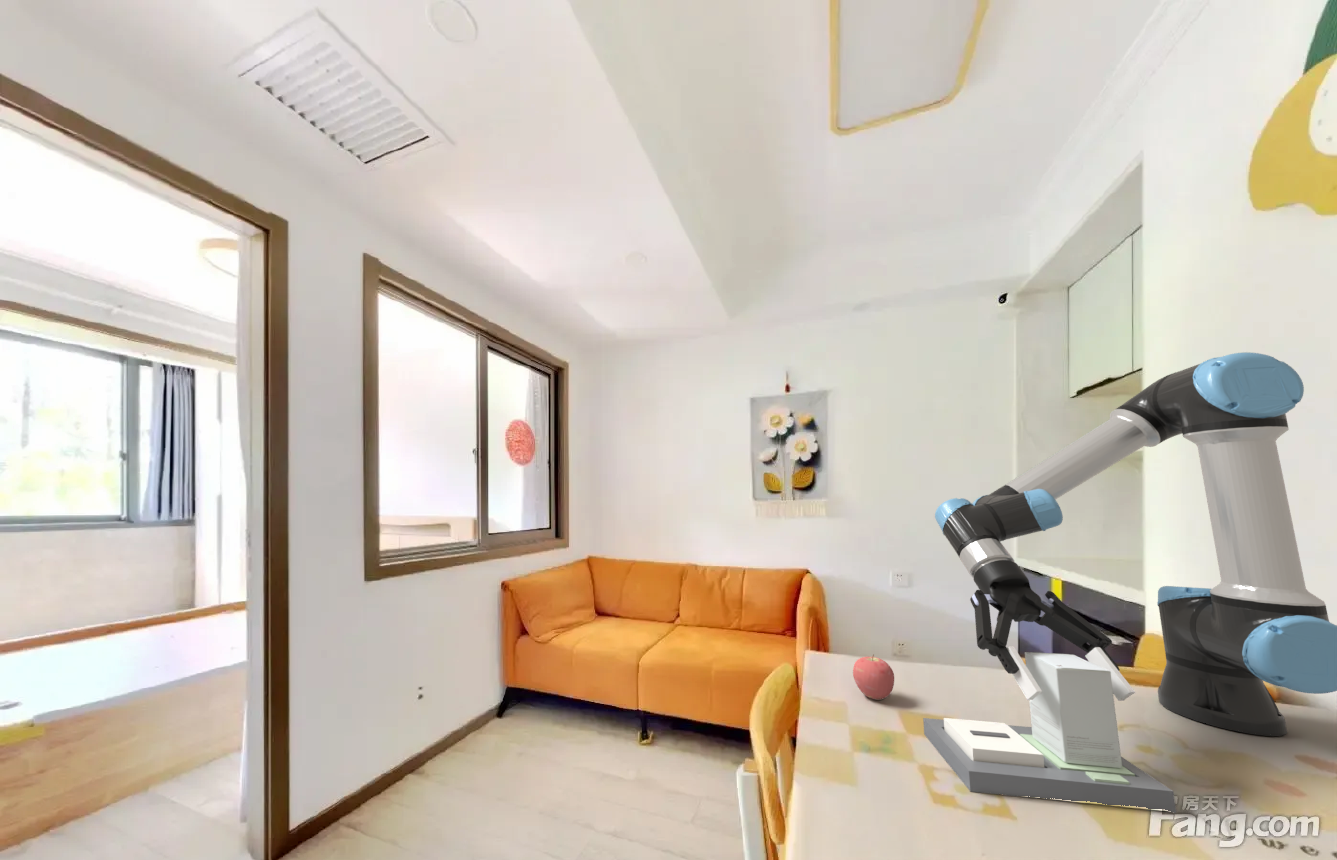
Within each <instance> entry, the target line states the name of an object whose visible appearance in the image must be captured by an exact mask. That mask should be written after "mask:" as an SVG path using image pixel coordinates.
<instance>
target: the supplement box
mask: <svg viewBox="0 0 1337 860" xmlns="http://www.w3.org/2000/svg"><path fill="white" fill-rule="evenodd" d="M1024 659H1025V661H1024V662H1025V665H1026V667H1027V668H1028V670H1029V671H1030V673H1031V675H1032V676H1033V678H1034V679H1035V681H1036V682H1037V684H1038V686H1039V687H1040V689H1041V690H1042V692H1041V693H1040V694H1039V695H1037V696H1036V697H1035V698H1034V699H1033V700H1028V701H1029V710H1030V723H1031V727H1032V736H1033V738H1034V739H1036V740H1037V741H1038V742H1040V743H1041V744H1042V745H1044V746H1045V747H1046V748H1047V749H1049V750H1050V751H1051V752H1053V753H1054V754H1055V755H1056V756H1058V757H1059V758H1060V759H1062V760H1063V761H1064V762H1066V763H1073V764H1082V765H1092V766H1102V767H1112V768H1122V761H1121V757H1122V753H1121V746H1120V744H1121V743H1120V739H1119V729H1118V723H1117V722H1118V721H1117V714H1116V706H1115V695H1114V694H1113V688H1112V680H1111V672H1110V671H1109V670H1107V669H1104V668H1102V667H1100V666H1097V665H1095V664H1093V663H1091V662H1089V661H1088V660H1086V659H1084V658H1082V657H1079V656H1078V655H1075V654H1069V653H1053V652H1049V653H1048V652H1034V651H1033V652H1029V651H1028V652H1027V651H1026V652H1024Z"/></svg>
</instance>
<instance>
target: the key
mask: <svg viewBox="0 0 1337 860" xmlns="http://www.w3.org/2000/svg"><path fill="white" fill-rule="evenodd" d="M1020 736H1021V737H1022V738H1024V739H1025V740H1026V741H1027V742H1028V743H1030V744H1031V745H1032V746H1033V747H1034V748H1036V749H1037V750H1038V751H1039V752H1040V753H1042V754H1043V756H1044V757H1045V758H1047V759H1048V760H1049V761H1050V762H1051V763H1053V764H1054V765H1055V766H1056V767H1057V768H1059V769H1062V770H1072V771H1083V772H1085V771H1086V772H1096V773H1107V774H1117V775H1124V776H1135V774H1134V773H1132V772H1131V771H1129V770H1128V769H1126V768H1125V767H1123V766H1122V768H1112V767H1102V766H1092V765H1082V764H1073V763H1066V762H1064V761H1063V760H1062V759H1060V758H1059V757H1058V756H1056V755H1055V754H1054V753H1053V752H1051V751H1050V750H1049V749H1047V748H1046V747H1045V746H1044V745H1042V744H1041V743H1040V742H1038V741H1037V740H1036V739H1034V738H1033V736H1032V735H1028V734H1020Z"/></svg>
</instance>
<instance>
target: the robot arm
mask: <svg viewBox="0 0 1337 860" xmlns="http://www.w3.org/2000/svg"><path fill="white" fill-rule="evenodd" d="M1303 383H1304V382H1303V379H1302V378H1301V376H1300V375H1299V374H1298V372H1297V371H1296V370H1295V369H1294V368H1293V367H1292V366H1290V365H1289V364H1288V363H1286V362H1285V361H1283V360H1282V361H1281V360H1278V359H1277V358H1275V357H1274V356H1271V355H1269V354H1264V353H1259V352H1248V351H1246V352H1244V351H1243V352H1235V353H1230V354H1226V355H1223V356H1218V357H1212V358H1210V359H1207V360H1205V361H1203V362H1201V363H1198V364H1196V365H1194V366H1193V365H1192V366H1190V367H1187V368H1183V369H1182V370H1179V371H1175V372H1172V373H1169V374H1167V375H1165V376H1163V377H1161V378H1160V379H1158V380H1156V381H1154V382H1153V383H1152V384H1150V385H1148V386H1147V387H1146V388H1144V389H1143V390H1141V391H1140V392H1139V393H1137V394H1135V395H1134V396H1133V397H1131V398H1129V399H1128V400H1127V401H1126V402H1124V403H1122V404H1121V405H1119V406H1118V407H1116V408H1115V409H1113V410H1111V412H1110V413H1109V419H1108V420H1106V421H1104V422H1102V423H1101V424H1100V425H1098V426H1096V427H1095V428H1093V429H1092V430H1090V431H1088V432H1087V433H1085V434H1083V435H1082V436H1080V437H1079V438H1077V439H1076V440H1074V441H1072V442H1071V443H1070V444H1067V445H1066V446H1064V447H1063V448H1062V449H1059V450H1058V451H1057V452H1055V453H1053V454H1052V455H1050V456H1049V457H1047V458H1045V459H1043V460H1042V461H1041V462H1039V463H1037V464H1035V465H1034V466H1033V467H1031V468H1030V469H1028V470H1026V471H1024V472H1023V473H1022V474H1020V475H1017V477H1015V478H1014V479H1012V480H1010V481H1008V482H1007V483H1005V484H1004V485H1003V486H1001V487H1000V488H997V489H996V490H994V491H993V492H991V493H990V494H985V495H982V496H980V497H977V498H976V499H975V500H974V501H973V502H971V501H970V500H969V499H966V498H961V497H960V498H957V497H955V498H950V499H947V500H945V501H943V502H942V503H941V504H940V505H939V506H937V508H936V510H935V514H934V518H935V521H936V523H937V524H938V526H939V528H940V530H941V532H942V534H943V536H945V538H946V539H947V541H948V542H949V544H950V545H951V547H952V549H953V550H954V552H955V553H956V554H957V556H958V558H959V559H960V561H961V562H962V565H963V566H964V567H965V569H966V570H967V572H968V573H969V576H970V577H972V578H973V581H974V583H975V586H977V588H978V589H976V590H975V591H974V593H973V594H972V596H971V597H970V599H969V601H970V603H971V605H972V607H973V609H974V618H975V619H974V620H975V632H976V646H977V648H979V649H980V650H982V651H983V650H987V651H988V654H989V655H991V656H992V657H997V658H998V660H999V662H1000V663H1001V665H1002V667H1003V668H1004V670H1005V672H1007V673H1008V674H1009V675H1010V674H1011V675H1012V676H1013V679H1014V680H1015V682H1016V684H1017V686H1018V687H1019V688H1020V690H1021V691H1022V693H1023V695H1024V697H1025V699H1026V700H1027V701H1029V700H1033V699H1034V698H1035V697H1036V696H1037V695H1039V694H1040V693H1041V692H1042V690H1041V689H1040V687H1039V686H1038V684H1037V682H1036V681H1035V679H1034V678H1033V676H1032V675H1031V673H1030V671H1029V670H1028V668H1027V667H1026V662H1025V661H1024V660H1023V659H1022V658H1021V655H1020V654H1019V653H1018V651H1017V649H1016V648H1015V646H1013V645H1012V646H1011V645H1010V646H1008V647H1007V645H1008V640H1009V637H1010V636H1009V634H1010V632H1011V631H1010V630H1011V626H1012V622H1013V621H1014V622H1015V623H1017V622H1018V623H1020V622H1028V623H1033V622H1034V623H1036V624H1038V625H1040V626H1045V627H1046V628H1048V629H1050V631H1051V630H1052V631H1053V632H1054V633H1055V634H1057V635H1059V636H1060V637H1062V638H1064V639H1065V640H1067V641H1068V642H1070V643H1072V644H1073V645H1074V646H1076V647H1078V648H1080V649H1081V650H1083V651H1084V652H1086V654H1085V656H1084V657H1085V659H1087V661H1089V662H1091V663H1093V664H1095V665H1097V666H1100V667H1102V668H1104V669H1107V670H1109V671H1110V672H1111V680H1112V688H1113V696H1114V698H1116V699H1117V701H1121V702H1122V701H1125V700H1127V699H1128V698H1130V697H1131V696H1132V695H1134V694H1136V691H1135V690H1134V688H1133V687H1132V686H1131V684H1130V683H1129V682H1128V680H1127V679H1126V678H1125V677H1124V675H1123V674H1122V673H1121V672H1120V668H1119V665H1118V664H1117V663H1116V662H1115V661H1114V660H1113V658H1112V657H1111V656H1110V654H1109V653H1108V651H1106V648H1108V647H1109V646H1111V644H1112V643H1113V641H1112V639H1111V638H1110V637H1109V636H1108V635H1106V634H1104V633H1103V632H1102V630H1099V629H1098V628H1096V627H1095V626H1094V625H1093V624H1092V623H1090V622H1089V621H1087V620H1086V619H1085V618H1084V617H1083V616H1081V615H1079V614H1078V613H1077V612H1076V611H1075V610H1073V609H1072V608H1071V607H1069V606H1068V605H1067V604H1066V603H1064V602H1063V601H1062V600H1061V599H1060V598H1059V597H1058V596H1057V595H1056V593H1055V592H1053V591H1051V590H1048V591H1046V592H1045V593H1044V594H1038V593H1036V592H1035V591H1034V590H1033V589H1032V587H1031V584H1030V580H1029V578H1028V577H1027V575H1026V573H1024V571H1023V570H1022V569H1021V567H1020V566H1019V565H1018V564H1017V562H1015V559H1014V558H1013V556H1012V555H1011V554H1010V553H1009V551H1008V550H1007V549H1006V547H1005V546H1004V544H1003V543H1002V542H1004V541H1006V540H1010V539H1014V538H1018V537H1021V536H1026V535H1030V534H1031V535H1032V534H1034V533H1039V532H1042V531H1043V532H1046V531H1047V530H1050V529H1052V528H1055V527H1058V526H1060V525H1062V522H1063V517H1064V516H1063V511H1062V509H1061V506H1060V504H1059V503H1058V501H1057V499H1059V498H1061V497H1062V496H1064V495H1065V494H1067V493H1069V492H1070V491H1072V490H1074V489H1076V488H1078V487H1079V486H1081V485H1082V484H1083V483H1085V482H1087V481H1089V480H1090V479H1092V478H1093V477H1096V476H1097V475H1099V474H1100V473H1102V472H1104V471H1106V470H1107V469H1108V468H1110V467H1112V466H1113V465H1115V464H1117V463H1118V462H1121V461H1122V460H1123V459H1125V458H1126V457H1128V456H1130V455H1132V454H1133V453H1135V452H1137V451H1138V450H1140V449H1142V448H1143V447H1147V448H1148V447H1150V448H1152V447H1156V446H1157V445H1159V444H1161V443H1163V442H1165V441H1167V440H1168V439H1172V438H1173V437H1174V438H1175V437H1176V436H1179V435H1182V438H1184V439H1186V440H1188V441H1189V442H1191V443H1192V444H1195V445H1196V447H1197V451H1198V457H1199V462H1200V469H1201V473H1202V480H1203V485H1204V490H1205V497H1206V503H1207V508H1208V513H1209V517H1210V518H1209V519H1210V526H1211V530H1212V536H1213V541H1214V547H1215V553H1216V554H1215V555H1216V557H1217V558H1216V559H1217V564H1218V571H1219V575H1220V582H1219V584H1217V585H1216V586H1214V587H1213V588H1205V587H1192V586H1174V585H1164V586H1163V585H1162V586H1161V587H1159V588H1158V590H1157V602H1156V603H1157V606H1158V611H1159V617H1160V618H1159V619H1160V625H1161V634H1162V639H1163V646H1164V653H1165V661H1166V665H1165V667H1164V670H1163V674H1162V677H1161V681H1160V685H1159V686H1158V688H1157V694H1158V695H1157V696H1158V702H1159V704H1160V703H1161V704H1162V705H1163V707H1164V706H1165V707H1166V709H1167V708H1168V709H1167V710H1169V711H1171V712H1173V713H1175V714H1178V715H1180V716H1182V717H1185V718H1187V719H1191V720H1193V721H1196V722H1199V723H1202V722H1203V724H1205V723H1206V725H1210V726H1214V727H1217V728H1220V729H1223V730H1224V729H1225V730H1230V731H1234V732H1238V733H1243V734H1249V735H1257V736H1265V737H1266V736H1268V737H1280V736H1285V735H1287V733H1288V730H1287V724H1286V720H1285V719H1286V718H1285V717H1284V715H1283V713H1281V712H1280V711H1279V709H1278V707H1277V704H1276V702H1275V700H1274V699H1273V697H1272V695H1271V693H1270V692H1269V690H1268V688H1267V687H1266V685H1265V683H1264V682H1266V683H1267V684H1270V685H1273V686H1275V687H1276V686H1277V687H1281V688H1286V689H1289V690H1291V691H1294V692H1300V693H1304V694H1315V695H1317V694H1329V693H1333V692H1337V624H1334V623H1333V622H1330V620H1329V614H1328V610H1327V606H1326V605H1327V604H1326V603H1325V601H1324V600H1322V599H1321V598H1319V597H1318V596H1316V595H1314V594H1313V593H1312V592H1310V591H1309V590H1308V589H1307V587H1306V583H1305V582H1306V581H1305V577H1304V572H1303V568H1302V563H1301V557H1300V553H1299V549H1298V543H1297V539H1296V538H1297V537H1296V533H1295V529H1294V525H1293V519H1292V515H1291V509H1290V505H1289V499H1288V494H1287V490H1286V485H1285V480H1284V475H1283V469H1282V465H1281V460H1280V456H1279V455H1280V454H1279V450H1278V446H1277V442H1276V441H1277V440H1278V438H1280V437H1281V436H1283V435H1284V434H1285V433H1287V431H1290V428H1289V423H1288V420H1287V415H1286V414H1287V413H1289V411H1291V410H1293V409H1294V408H1295V407H1296V405H1297V404H1298V403H1301V400H1302V399H1303V396H1304V392H1305V387H1304V384H1303ZM990 607H993V608H994V609H996V610H998V613H997V617H996V623H995V629H994V633H993V632H992V631H993V629H992V621H991V610H990ZM1042 612H1043V613H1044V614H1042ZM1041 615H1042V616H1041ZM1161 704H1160V705H1161ZM1162 705H1161V706H1162ZM1165 707H1164V708H1165Z"/></svg>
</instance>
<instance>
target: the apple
mask: <svg viewBox="0 0 1337 860" xmlns="http://www.w3.org/2000/svg"><path fill="white" fill-rule="evenodd" d="M852 669H853V670H852V675H853V679H854V682H855V684H856V686H857V687H858V689H859V690H860V692H861V693H862V694H863V695H864V696H865V697H867V698H869V699H873V700H877V701H878V700H879V701H880V700H884V699H886V698H887V697H889V695H890V694H891V693H892V691H893V689H894V685H895V674H894V671H893V669H892V667H891V666H890V665H889V663H887V662H886V661H885V660H884V659H882V658H879V657H875V654H872V656H862V657H860V658H858V659H856V661H855V662H854V664H853V668H852Z"/></svg>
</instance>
